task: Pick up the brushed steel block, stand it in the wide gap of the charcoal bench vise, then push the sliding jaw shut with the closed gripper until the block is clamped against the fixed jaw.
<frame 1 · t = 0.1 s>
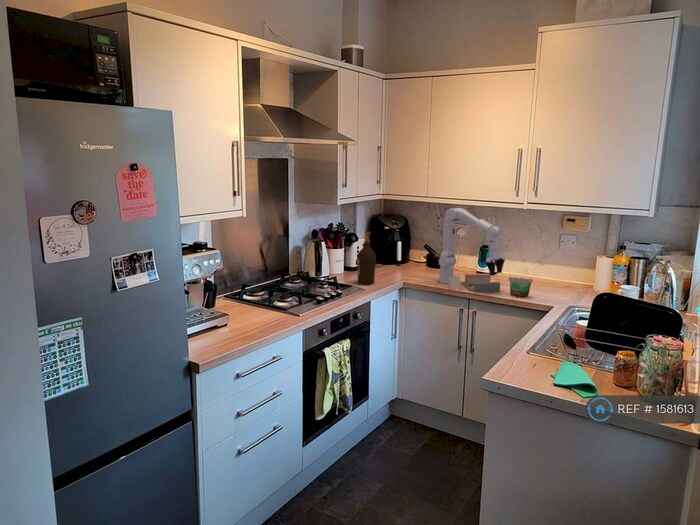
hand: (496, 273, 277), 11 cm above the worktop, tool pointing down, fingers open, 7 cm apart
olive oil: (365, 283, 294), on the worktop
steel block: (454, 288, 286), on the worktop
vise: (481, 287, 288), on the worktop
clamp jaw: (477, 279, 294), point 3 cm above the worktop, slide at 0.0 cm
food container: (518, 296, 272), on the worktop
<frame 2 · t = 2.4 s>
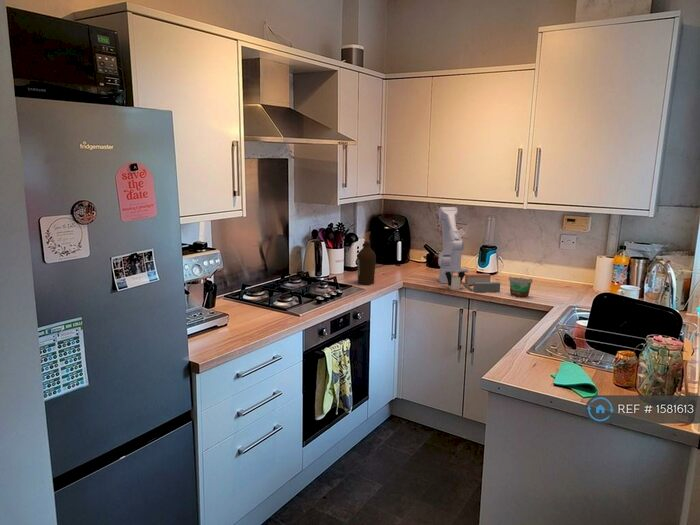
hand: (454, 285, 285), 2 cm above the worktop, tool pointing down, fingers closed on steel block, 5 cm apart
steel block: (454, 288, 286), on the worktop, touching gripper
everything else where it was.
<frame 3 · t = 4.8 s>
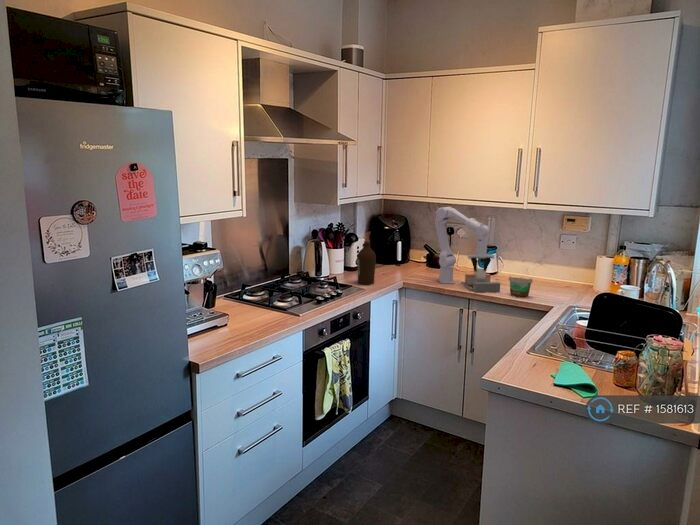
hand: (479, 271, 285), 10 cm above the worktop, tool pointing down, fingers closed on steel block, 5 cm apart
steel block: (479, 281, 286), point 4 cm above the worktop, touching gripper
everything else where it was.
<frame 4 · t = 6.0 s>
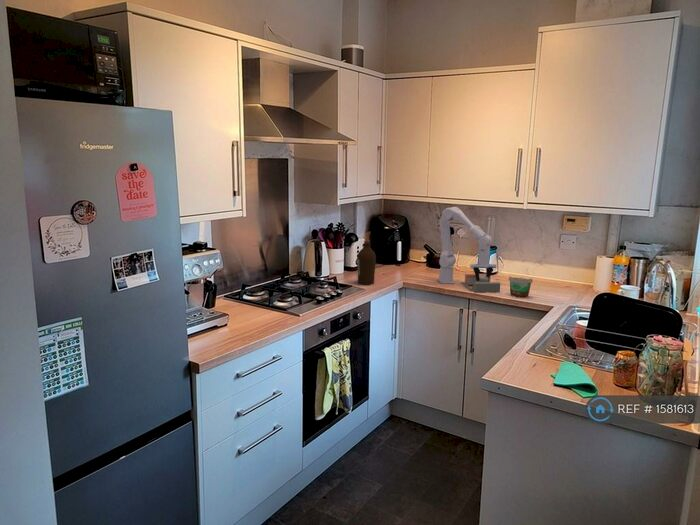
hand: (482, 280, 286), 4 cm above the worktop, tool pointing down, fingers closed on steel block, 5 cm apart
steel block: (481, 288, 288), on the worktop, touching gripper
everything else where it was.
when the fingers open (3 cm above the worktop, at t = 6.9 s): steel block stays where it is, on the worktop.
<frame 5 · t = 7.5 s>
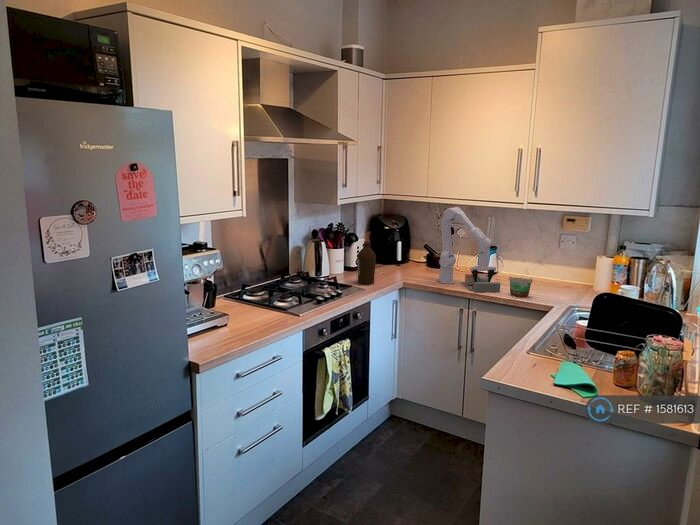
hand: (482, 283, 287), 3 cm above the worktop, tool pointing down, fingers open, 7 cm apart
steel block: (481, 288, 288), on the worktop
everything else where it was.
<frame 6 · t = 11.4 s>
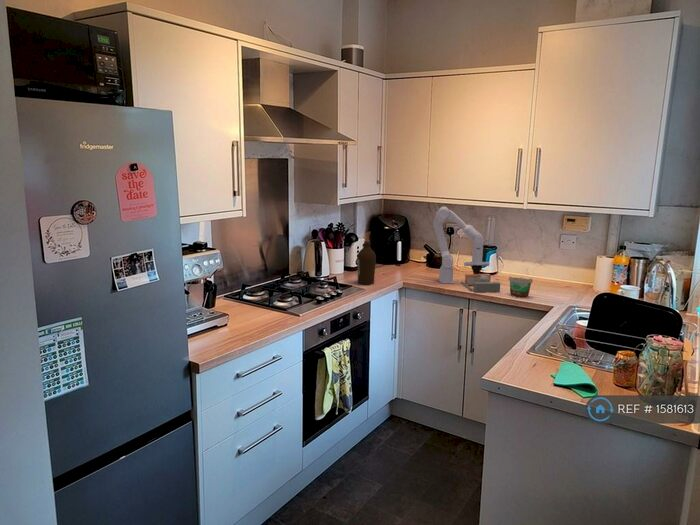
hand: (475, 278, 297), 3 cm above the worktop, tool pointing down, fingers closed, pressing on clamp jaw
clamp jaw: (477, 279, 293), point 3 cm above the worktop, slide at 0.2 cm, touching gripper
everything else where it was.
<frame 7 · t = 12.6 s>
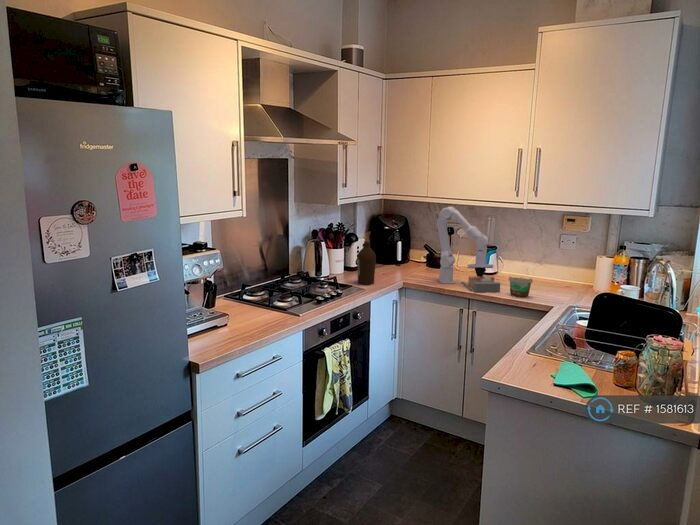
hand: (479, 280, 291), 3 cm above the worktop, tool pointing down, fingers closed, pressing on clamp jaw
steel block: (483, 289, 284), on the worktop, touching clamp jaw, vise
clamp jaw: (481, 282, 288), point 3 cm above the worktop, slide at 6.0 cm, touching gripper, steel block
everything else where it was.
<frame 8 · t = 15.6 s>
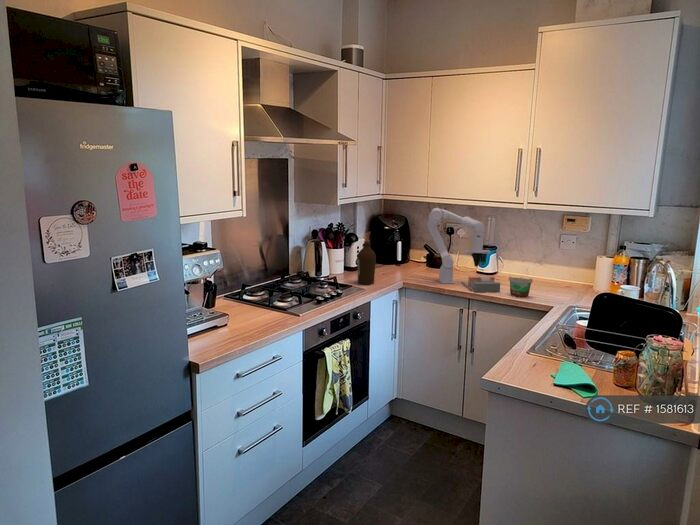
hand: (476, 266, 296), 10 cm above the worktop, tool pointing down, fingers closed
steel block: (483, 289, 284), on the worktop, touching vise
clamp jaw: (481, 282, 288), point 3 cm above the worktop, slide at 5.9 cm
everything else where it was.
at the end: steel block 0.0 cm from the target spot on the vise, point 0.0 cm above the vise's base; clamp jaw slide at 5.9 cm; steel block tilted 0° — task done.
